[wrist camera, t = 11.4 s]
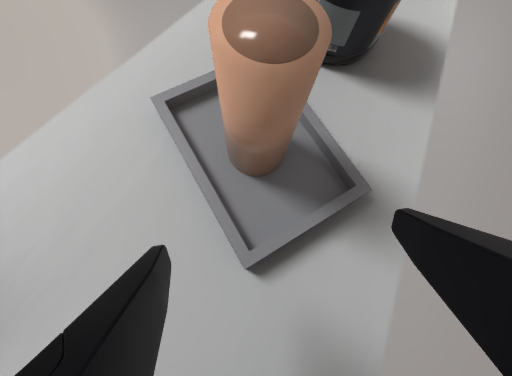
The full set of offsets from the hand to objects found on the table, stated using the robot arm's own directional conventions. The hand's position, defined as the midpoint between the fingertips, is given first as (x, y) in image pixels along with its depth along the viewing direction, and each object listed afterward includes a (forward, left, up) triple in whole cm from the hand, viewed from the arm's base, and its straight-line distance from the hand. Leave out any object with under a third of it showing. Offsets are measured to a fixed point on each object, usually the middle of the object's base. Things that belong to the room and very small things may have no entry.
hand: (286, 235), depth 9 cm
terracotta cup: (+8, -4, -11) cm, 15 cm away
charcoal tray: (+8, -4, -12) cm, 15 cm away
